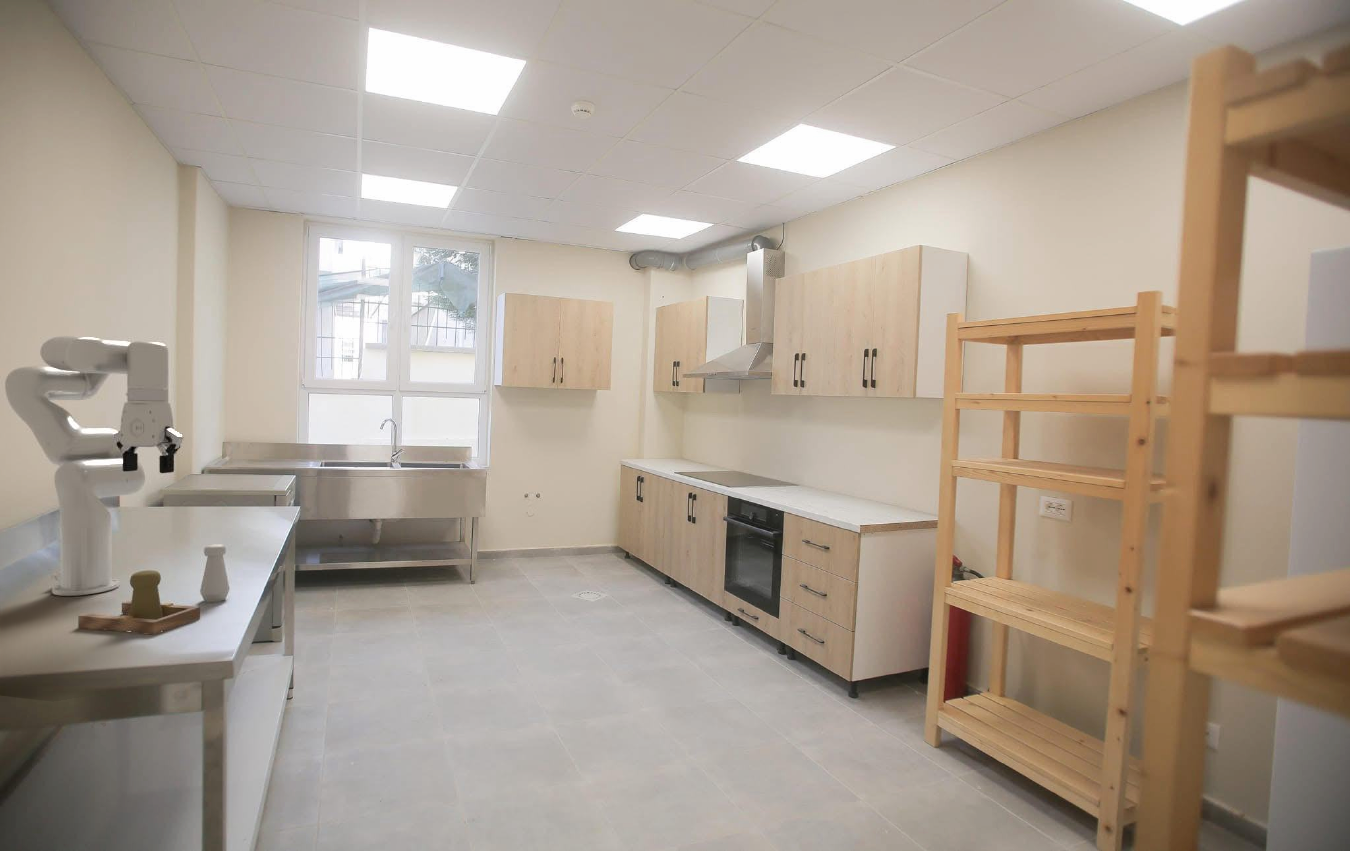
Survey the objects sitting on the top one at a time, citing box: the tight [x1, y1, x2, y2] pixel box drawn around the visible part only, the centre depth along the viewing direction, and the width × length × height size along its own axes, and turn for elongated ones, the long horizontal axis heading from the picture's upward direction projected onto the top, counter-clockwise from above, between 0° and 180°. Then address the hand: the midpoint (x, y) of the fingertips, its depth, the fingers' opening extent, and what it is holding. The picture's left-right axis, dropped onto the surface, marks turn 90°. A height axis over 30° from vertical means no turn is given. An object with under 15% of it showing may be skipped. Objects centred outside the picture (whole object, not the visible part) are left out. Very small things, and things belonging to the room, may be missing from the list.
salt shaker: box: [199, 543, 231, 603], centre depth 167 cm, size 6×6×13 cm
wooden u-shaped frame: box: [77, 600, 201, 635], centre depth 150 cm, size 18×11×3 cm, turn 80°
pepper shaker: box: [128, 569, 163, 620], centre depth 149 cm, size 6×6×11 cm
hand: (148, 471), depth 162 cm, fingers open, 9 cm apart
